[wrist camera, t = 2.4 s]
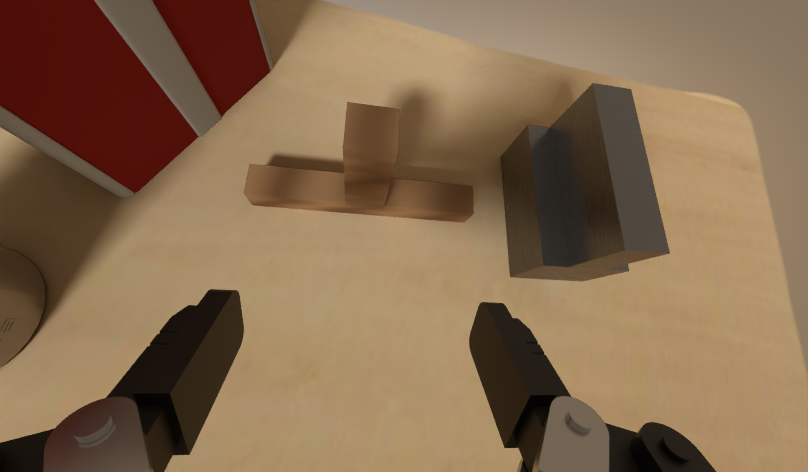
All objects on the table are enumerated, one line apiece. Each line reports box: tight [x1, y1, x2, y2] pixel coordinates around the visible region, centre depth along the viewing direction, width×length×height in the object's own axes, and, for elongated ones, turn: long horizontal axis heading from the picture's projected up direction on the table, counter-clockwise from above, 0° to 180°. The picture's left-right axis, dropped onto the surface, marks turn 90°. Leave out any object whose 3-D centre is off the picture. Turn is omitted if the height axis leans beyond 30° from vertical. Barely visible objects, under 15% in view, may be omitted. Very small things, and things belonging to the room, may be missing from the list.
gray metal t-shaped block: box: [501, 83, 670, 281], centre depth 25 cm, size 12×7×10 cm, turn 178°
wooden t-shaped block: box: [244, 102, 474, 222], centre depth 22 cm, size 18×3×10 cm, turn 88°
